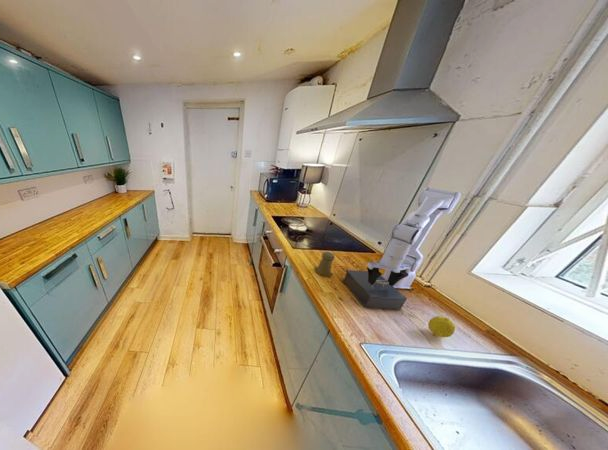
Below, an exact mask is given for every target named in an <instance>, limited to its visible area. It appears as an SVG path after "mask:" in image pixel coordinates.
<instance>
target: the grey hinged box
mask: <svg viewBox="0 0 608 450" xmlns="http://www.w3.org/2000/svg"><path fill="white" fill-rule="evenodd" d="M342 282H343V283H344V284H345V286H346V287H347V288H348V289H349V290H350V292H351V293H352V294H353V295H354V296H355V297H356V299H357V300H358V301H359V302H360V304H361V305H362V306H363V307H364V308H366V309H378V310H379V309H380V310H391V311H392V310H395V311H401V309H402V308H403V306H404V305H405V304H406V301H407V300H401V299H386V298H370V297H369V296H368V295H367V294H366V293H365V291H364V290H363V289H362V288H361V287H360V286H359V285H358V284H357V283H356V282H355V281H354V279H353V278H352V277H351V276H350V275H349V274H348V273H347V272H346V273H345V275H344V278H343V281H342Z"/></svg>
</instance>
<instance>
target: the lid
mask: <svg viewBox="0 0 608 450" xmlns="http://www.w3.org/2000/svg"><path fill="white" fill-rule="evenodd" d="M345 272H346V273H348V274H349V275H350V276H351V277H352V278H353V279H354V281H355V282H356V283H357V284H358V285H359V286H360V287H361V288H362V289H363V290H364V291H365V293H366V294H367V295H368V296H369V297H370V298H386V299H401V300H406V301H407V300H408V298H407V297H406V296H405V295H404V294H403V293H401V292H400V291H399V290H398V288H395V287H393V286H391V285H389V281H387V280H385V279H384V278H383V277H382V276H383V275H380V276H379V277H378V278H377V280H376V281H375V283H374V284H373V285H371V284H370V283H369V282H368V270H353V269H346V270H345Z"/></svg>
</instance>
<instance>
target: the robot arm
mask: <svg viewBox="0 0 608 450" xmlns="http://www.w3.org/2000/svg"><path fill="white" fill-rule="evenodd" d="M461 196H462V193H461V191H453V190H446V189H440V188H434V187H429V186H426V187H424V188H423V189H422V190H421V192H420V193H419V195H418V197H417V209H416V210H415V211H411V212H409V213H408V215H407V216H406V217H405V218H404V219H403V220H402V221H401V223H400V224H398V223H397V224H395V226H393V228H392V230H391V232H390V235H389V239H388V244H387V246H386V249H385V251H384V253H383V254H382V257H381V259H380V260H377V261H371V262H370V261H368V262H367V265H366V269H367V271H368V282H369V283H370V284H371V285H373V284H374V283H375V281H376V280H377V278H378V277H379V276H380V275H381V276H382V277H383V278H384V279H385V280H387V281H389V285H391V286H393V287H395V288H396V289H402V290H403V289H404V290H411V289H412V287H411V285H412V283H413V282H414V280H415V278H416V277H417V276H416V275H417V272H416V271H417V269H418V268H419V267H420V265H421V263H422V261H423V259H424V256H423V255H424V254H422V253H421V251H420V250H419V249H420V248H421V245H422V244H423V242H424V241H425V239H426V237H427V235H428V234H429V232H430V231H431V229H432V228H433V226H434V224H435V223H436V221H437V219H438V218H439V217H440V216H442V215H445V214H446V215H447V214H450V213H451V212H452V211H453V209H454V208H455V206H456V205H457V203H458V202H459V201H460V199H461ZM380 270H385V271H384V273H382V272H381V271H380Z"/></svg>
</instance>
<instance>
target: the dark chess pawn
mask: <svg viewBox="0 0 608 450" xmlns="http://www.w3.org/2000/svg"><path fill="white" fill-rule="evenodd" d="M335 259H336V256H335V254H334V253H333V252H331V251H324V252H323V253H322V254H321V260H320V262H319V264H318V265H317V268H316V269H315V272H316V273H317V274H318V275H320V276H324V277H329V276H330V275H331V269H332V263H333V261H334V260H335Z"/></svg>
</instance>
